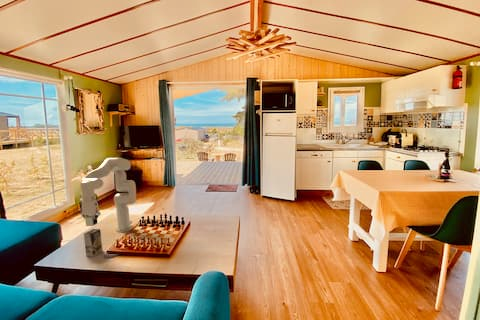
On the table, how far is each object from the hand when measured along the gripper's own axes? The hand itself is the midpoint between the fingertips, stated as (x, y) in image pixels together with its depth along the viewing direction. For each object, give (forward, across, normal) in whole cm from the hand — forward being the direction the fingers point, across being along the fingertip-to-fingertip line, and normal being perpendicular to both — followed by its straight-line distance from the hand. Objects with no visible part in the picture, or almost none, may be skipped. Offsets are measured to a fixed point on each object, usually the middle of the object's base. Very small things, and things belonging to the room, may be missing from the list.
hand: (91, 223), depth 190 cm
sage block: (+1, 0, 0) cm, 1 cm away
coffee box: (+22, 0, 0) cm, 22 cm away
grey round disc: (+22, -14, +2) cm, 26 cm away
